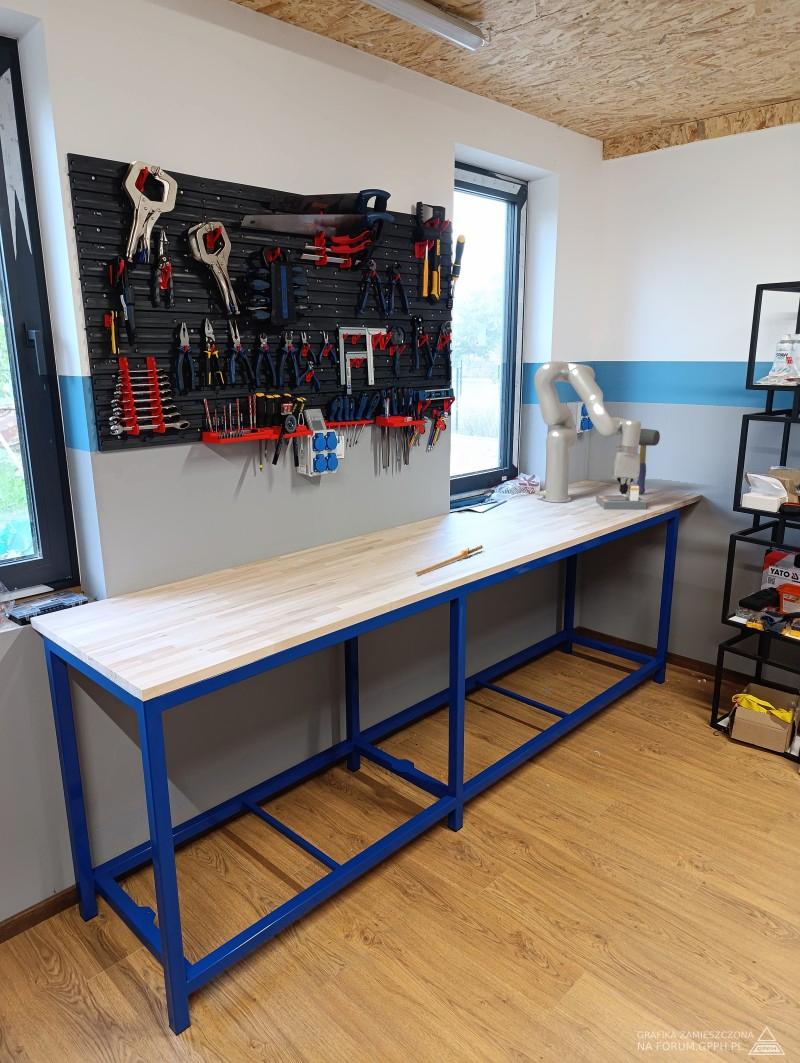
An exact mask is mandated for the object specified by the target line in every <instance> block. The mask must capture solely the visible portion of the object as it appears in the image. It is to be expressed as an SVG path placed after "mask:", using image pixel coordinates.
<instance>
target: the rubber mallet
mask: <svg viewBox="0 0 800 1063" xmlns="http://www.w3.org/2000/svg"><path fill="white" fill-rule="evenodd" d="M660 438H661V434H660V432H659V430H657V429H649V428H641V431H640V439H639V446H640V449H639V454H640V473H639V477H638V480H636V482H637V483H636V485H637V486H639V496H641V495H642V496H643V495H644V494H645V492H646V488H645V487H646V486H645V485H646V476H647V463H646V457H647V456H646V455H647V446H649V447H651V446H657V445H658V444H659V442H660Z"/></svg>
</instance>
